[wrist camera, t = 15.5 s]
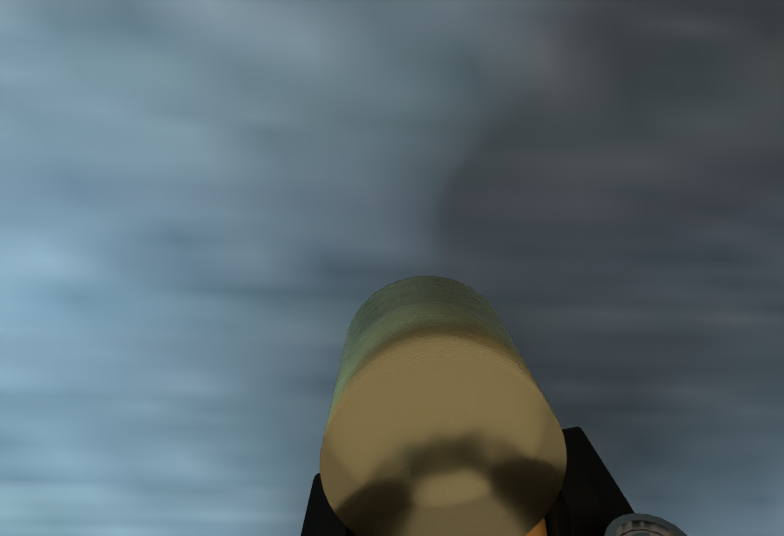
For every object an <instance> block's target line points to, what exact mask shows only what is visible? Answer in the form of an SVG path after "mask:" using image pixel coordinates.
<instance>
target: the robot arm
mask: <svg viewBox="0 0 784 536" xmlns="http://www.w3.org/2000/svg"><path fill="white" fill-rule="evenodd" d="M562 432H563V435H564V440H565V445H566V456H567V463H566V472H565V477H564V481H563V484H562V488H561V490H560V492H559V494H558V497H557V499H556V501H555V502H552V507H551V509H550V510H549V512H548V513H547V514H546V515H545V523H546V530H547V536H687V535H686V534H685V533H684V532H683V531H681V530H680V529H679V528H678V527H677V526H675V525H674V524H672V523H670V522H668V521H666V520H664V519H662V518H659V517H656V516H652V515H649V514H639V513H634V511H633V509H632V508H631V506H630V505H629V503H628V502H627V500H626V498H625V497H624V495H623V494H622V492H621V490H620V489H619V487H618V486H617V484H616V483H615V481H614V479H613V478H612V476H611V475H610V473H609V472H608V470H607V468H606V467H605V465H604V464H603V462H602V460H601V459H600V457H599V456H598V454H597V453H596V451H595V449H594V448H593V446H592V445H591V443H590V441H589V440H588V438H587V437H586V435H585V434H584V432H583V431H582V429H581V428H579V427H573V428H568V429H562ZM301 536H356V535H354V534H353V533H352V532H351V531H350V530H349V529H348V528H347V527H346V526H345V525H344V524H343V523H342V522H341V520H340V519H339V518H338V517H337V515H336V514H335V512H334V511H333V509H332V507H331V506H330V504H329V502H328V500H327V497H326V495H325V492H324V489H323V485H322V481H321V475H320V473H318V474H316V475H315V477H314V480H313V484H312V488H311V493H310V497H309V501H308V506H307V510H306V515H305V519H304V523H303V528H302V532H301Z"/></svg>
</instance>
